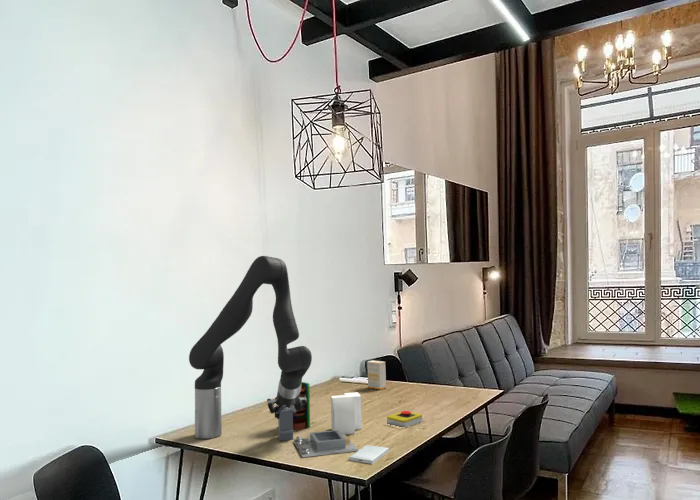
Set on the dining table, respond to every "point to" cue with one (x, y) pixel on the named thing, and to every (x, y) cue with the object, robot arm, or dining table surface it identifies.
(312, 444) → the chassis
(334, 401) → the corner bracket
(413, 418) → the emergency button
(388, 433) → the dining table surface
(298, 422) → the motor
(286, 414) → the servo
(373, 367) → the supplement box
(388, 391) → the dining table surface
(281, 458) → the dining table surface
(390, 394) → the dining table surface
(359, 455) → the hard drive
